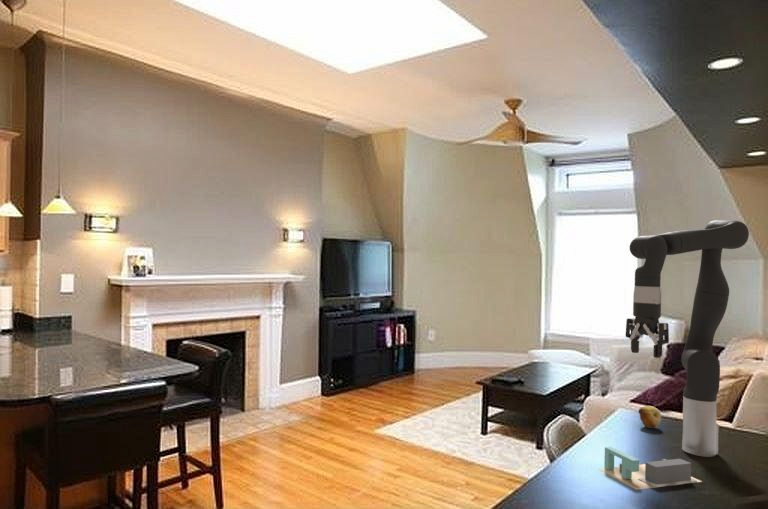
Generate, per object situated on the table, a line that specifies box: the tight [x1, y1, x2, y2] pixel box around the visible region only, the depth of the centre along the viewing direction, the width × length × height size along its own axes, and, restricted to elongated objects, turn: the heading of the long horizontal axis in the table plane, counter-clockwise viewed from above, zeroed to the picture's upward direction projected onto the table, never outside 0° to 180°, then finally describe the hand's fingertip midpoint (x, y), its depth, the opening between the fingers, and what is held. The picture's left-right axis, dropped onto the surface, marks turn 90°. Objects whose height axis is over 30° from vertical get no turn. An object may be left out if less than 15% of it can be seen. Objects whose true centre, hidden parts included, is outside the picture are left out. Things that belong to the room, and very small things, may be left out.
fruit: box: [637, 405, 662, 429], centre depth 193 cm, size 8×8×8 cm
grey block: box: [644, 458, 692, 484], centre depth 140 cm, size 12×4×4 cm, turn 108°
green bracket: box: [603, 446, 640, 479], centre depth 143 cm, size 2×10×6 cm, turn 18°
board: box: [598, 458, 703, 491], centre depth 144 cm, size 22×14×3 cm, turn 108°
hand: (646, 355), depth 158 cm, fingers open, 8 cm apart
